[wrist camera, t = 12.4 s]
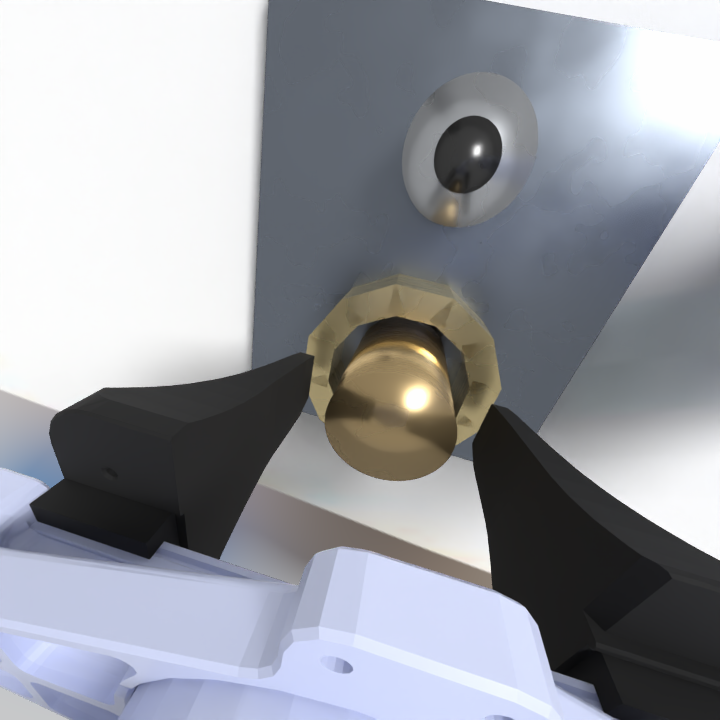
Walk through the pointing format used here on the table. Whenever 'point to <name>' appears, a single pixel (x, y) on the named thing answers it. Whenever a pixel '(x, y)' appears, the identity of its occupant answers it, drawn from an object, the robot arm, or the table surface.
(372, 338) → the gold metal knob
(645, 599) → the robot arm
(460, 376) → the fitting plate
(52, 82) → the table surface
